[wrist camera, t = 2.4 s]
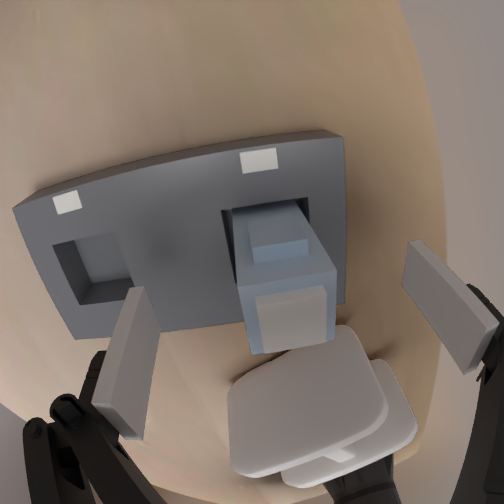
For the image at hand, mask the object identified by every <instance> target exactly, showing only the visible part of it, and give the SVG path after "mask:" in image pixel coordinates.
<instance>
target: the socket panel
mask: <svg viewBox="0 0 504 504" xmlns="http://www.w3.org/2000/svg"><path fill="white" fill-rule="evenodd" d="M290 199H294V200H295V202H296V203H297V205H298V207H299V208H300V210H301V211H302V213H303V215H304V216H305V218H306V219H307V221H308V223H309V224H310V226H311V228H312V229H313V231H314V232H315V234H316V236H317V237H318V239H319V241H320V242H321V244H322V246H323V247H324V249H325V251H326V252H327V254H328V256H329V258H330V259H331V261H332V263H333V264H334V266H335V268H336V270H337V291H336V305H337V304H342V303H345V283H346V179H345V157H344V141H343V137H342V136H340V135H337V134H335V133H332V132H330V131H327V130H316V131H305V132H295V133H287V134H278V135H270V136H263V137H256V138H249V139H242V140H236V141H230V142H224V143H218V144H212V145H207V146H202V147H196V148H191V149H186V150H182V151H177V152H172V153H168V154H163V155H159V156H155V157H150V158H146V159H142V160H138V161H134V162H130V163H126V164H123V165H119V166H115V167H112V168H108V169H104V170H101V171H98V172H94V173H91V174H88V175H84V176H81V177H78V178H75V179H72V180H68V181H65V182H62V183H59V184H56V185H53V186H51V187H48V188H45V189H42V190H39V191H37V192H35V193H33V194H32V195H30V196H29V197H27V198H26V199H24V200H23V201H22V202H20V203H19V204H17V205H16V206H15V207H13V208H12V209H13V212H14V215H15V218H16V220H17V223H18V226H19V228H20V231H21V233H22V236H23V238H24V241H25V243H26V246H27V248H28V250H29V253H30V255H31V257H32V259H33V262H34V264H35V266H36V268H37V270H38V272H39V275H40V277H41V279H42V281H43V283H44V285H45V287H46V289H47V291H48V293H49V295H50V297H51V298H52V300H53V302H54V304H55V306H56V308H57V310H58V311H59V313H60V315H61V317H62V319H63V320H64V322H65V324H66V325H67V327H68V329H69V331H70V332H71V334H72V336H73V337H74V339H75V340H77V339H93V338H106V337H112V334H113V332H114V329H115V326H116V323H117V320H118V318H119V315H120V312H121V309H122V307H123V304H124V301H125V299H126V296H127V294H128V291H129V288H133V287H140V286H144V288H145V290H146V293H147V295H148V298H149V300H150V302H151V305H152V307H153V310H154V312H155V314H156V317H157V319H158V322H159V324H160V326H161V332H169V331H177V330H185V329H193V328H201V327H209V326H216V325H223V324H230V323H236V322H243V321H244V316H243V311H242V307H241V302H240V297H239V292H238V287H237V274H236V261H235V247H234V233H233V219H232V208H238V207H245V206H251V205H257V204H263V203H270V202H276V201H283V200H290Z"/></svg>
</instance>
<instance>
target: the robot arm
mask: <svg viewBox="0 0 504 504" xmlns="http://www.w3.org/2000/svg"><path fill="white" fill-rule="evenodd" d="M402 287H403V288H404V289H405V290H406V292H407V293H408V294H409V296H410V297H411V298H412V300H413V301H414V303H415V304H416V305H417V307H418V308H419V309H420V311H421V312H422V314H423V315H424V316H425V318H426V319H427V321H428V322H429V323H430V325H431V326H432V328H433V329H434V331H435V332H436V333H437V335H438V336H439V338H440V339H441V341H442V342H443V344H444V345H445V347H446V348H447V349H448V351H449V353H450V354H451V356H452V357H453V359H454V361H455V362H456V363H457V365H458V367H459V368H460V370H461V371H462V373H463V375H465V374H467V373H469V372H471V371H473V370H475V369H477V366H478V365H479V363H480V361H481V360H482V361H483V363H484V364H485V365H484V367H483V369H482V370H481V372H480V374H479V376H478V377H477V380H476V381H477V382H478V381H479V379H480V378H481V384H480V391H479V398H478V403H477V409H476V414H475V419H474V424H473V428H472V433H471V437H470V441H469V445H468V449H467V453H466V456H465V460H464V463H463V467H462V470H461V473H460V477H459V479H458V482H457V485H456V488H455V491H454V493H453V496H452V499H451V501H450V504H504V317H503V316H502V315H501V313H500V312H499V311H498V310H497V309H496V308H495V307H494V305H493V304H492V303H490V301H489V300H488V299H487V298H486V297H485V296H484V295H483V293H482V292H481V291H480V290H479V289H478V288H476V287H474V286H473V285H471V284H467V285H466V284H465V283H464V282H463V281H462V280H461V279H460V278H459V277H458V276H457V275H456V274H455V273H454V272H453V271H452V270H451V269H450V268H449V267H448V266H447V265H446V264H445V263H444V262H443V261H442V260H441V259H440V258H439V257H438V256H437V255H436V254H435V253H434V252H433V251H432V250H431V249H430V248H429V247H428V246H427V245H426V244H425V243H423V242H422V241H421V240H415V241H409V242H408V248H407V255H406V263H405V269H404V276H403V282H402ZM160 332H161V326H160V324H159V322H158V319H157V317H156V314H155V312H154V310H153V307H152V305H151V302H150V300H149V298H148V295H147V293H146V290H145V288H144V286H140V287H133V288H129V291H128V294H127V296H126V299H125V301H124V304H123V307H122V309H121V312H120V315H119V318H118V320H117V323H116V326H115V329H114V332H113V334H112V337H111V340H110V343H109V346H108V349H107V350H106V351H98V352H97V354H96V355H95V356H94V357H93V359H92V360H91V363H90V366H89V369H88V370H89V371H88V372H87V375H86V379H85V381H84V384H83V387H82V390H81V393H80V396H79V399H77V398H76V397H75V396H74V395H72V394H63V395H61V396H58V397H57V398H56V399H55V400H54V401H53V403H52V404H51V407H50V411H49V412H50V417H51V418H52V419H53V420H54V421H55V422H53V423H48V424H47V423H46V422H45V421H44V420H43V419H42V418H39V417H36V418H32V419H30V420H29V421H28V422H27V423H26V424H25V426H24V428H23V446H24V456H25V465H26V473H27V479H28V486H29V492H30V498H31V503H32V504H96V502H95V499H94V496H93V493H92V490H91V487H90V484H89V481H90V483H91V484H92V486H93V488H94V489H95V491H96V492H97V494H98V496H99V498H100V499H101V501H102V502H103V504H167V503H166V502H165V501H164V500H163V498H162V497H161V496H160V495H159V494H158V493H157V491H156V490H155V489H154V488H153V486H152V485H151V484H150V483H149V481H148V480H147V479H146V478H145V476H144V475H143V474H142V472H141V471H140V470H139V469H138V467H137V466H136V465H135V463H134V462H133V461H132V459H131V458H130V456H129V455H128V454H127V452H126V451H125V449H124V448H123V446H122V445H121V444H120V443H119V442H118V438H119V434H120V435H121V436H122V437H123V438H124V439H125V440H143V436H144V428H145V421H146V414H147V407H148V400H149V394H150V387H151V381H152V375H153V369H154V364H155V358H156V353H157V347H158V342H159V337H160ZM393 455H394V453H392V454H390V455H388V456H385V457H383V458H381V459H379V460H377V461H375V462H373V463H371V464H368V465H366V466H364V467H362V468H359V469H357V470H355V471H352V472H350V473H347V474H345V475H342V476H340V477H337V478H335V479H332V480H329V481H326V482H324V483H323V485H324V486H325V488H326V489H327V491H328V492H329V493H330V495H331V497H332V498H333V500H334V504H401V500H400V498H399V495H398V492H397V489H396V486H395V483H394V481H393ZM88 479H89V480H88Z"/></svg>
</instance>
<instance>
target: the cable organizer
mask: <svg viewBox="0 0 504 504" xmlns="http://www.w3.org/2000/svg"><path fill="white" fill-rule="evenodd" d="M227 405H228V427H229V447H230V463H231V467H232V468H233V470H234V471H235V472H237V473H239V474H241V475H244V476H248V477H252V478H259V477H264V476H267V475H270V474H273V473H277V472H280V471H281V476H282V480H283V481H284V482H285V483H286V484H287V485H290V486H293V487H298V488H308V487H312V486H315V485H318V484H321V483H324V482H326V481H329V480H332V479H335V478H337V477H340V476H342V475H345V474H347V473H350V472H352V471H355V470H357V469H359V468H362V467H364V466H366V465H368V464H371V463H373V462H375V461H377V460H379V459H381V458H383V457H385V456H388V455H390V454H392V453H394V452H395V451H397V450H399V449H401V448H403V447H405V446H406V445H407V444H408V443H409V442H411V440H412V439H413V438H414V436H415V435H416V433H417V430H418V423H417V421H416V418H415V416H414V414H413V412H412V410H411V408H410V406H409V403H408V401H407V399H406V397H405V395H404V393H403V391H402V389H401V387H400V385H399V383H398V381H397V379H396V377H395V375H394V373H393V371H392V369H391V367H390V366H389V365H388V363H387V362H386V361H385V360H382V359H374V360H370V361H369V359H368V357H367V355H366V353H365V351H364V349H363V346H362V344H361V342H360V340H359V338H358V336H357V335H356V334H355V332H354V331H353V330H352V328H351V327H349V326H347V325H336V326H335V340H330V341H326V342H325V343H321V344H316V345H311V346H306V347H301V348H295V349H292V350H290V351H289V352H287V353H285V354H283V355H281V356H280V357H278V358H276V359H274V360H272V361H271V362H270V361H269V362H266V363H264V364H262V365H260V366H259V367H257V368H255V369H253V370H251V371H249V372H247V373H246V374H245V375H244V376H242V377H241V378H239V379H238V380H237V381H236V382H235V383H234V384H233V385H232V386H231V388H230V390H229V392H228V395H227Z"/></svg>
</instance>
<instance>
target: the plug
mask: <svg viewBox="0 0 504 504" xmlns="http://www.w3.org/2000/svg"><path fill="white" fill-rule="evenodd" d="M232 219H233V233H234V247H235V261H236V274H237V287H238V292H239V297H240V302H241V307H242V311H243V316H244V321H245V325H246V330H247V335H248V340H249V344H250V349H251V353H252V355H255V354H261V353H264V354H267V353H273V352H279V351H284V350H290V349H295V348H301V347H306V346H311V345H316V344H321V343H325V342H326V341H330V340H335V321H336V291H337V270H336V268H335V266H334V264H333V263H332V261H331V259H330V258H329V256H328V254H327V252H326V251H325V249H324V247H323V246H322V244H321V242H320V241H319V239H318V237H317V236H316V234H315V232H314V231H313V229H312V228H311V226H310V224H309V223H308V221H307V219H306V218H305V216H304V215H303V213H302V211H301V210H300V208H299V207H298V205H297V203H296V202H295V200H294V199H290V200H283V201H276V202H270V203H263V204H257V205H251V206H245V207H238V208H232Z"/></svg>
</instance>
